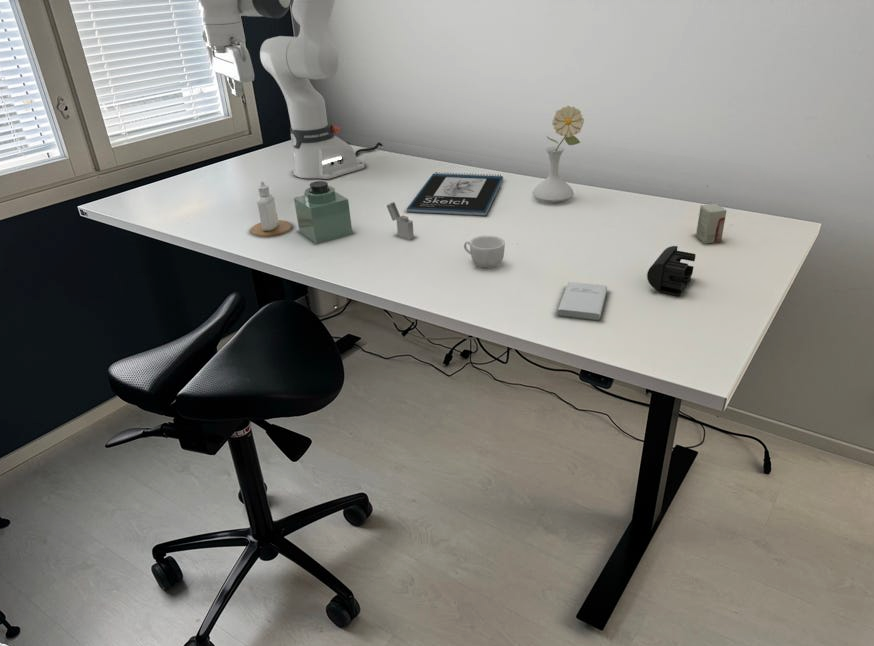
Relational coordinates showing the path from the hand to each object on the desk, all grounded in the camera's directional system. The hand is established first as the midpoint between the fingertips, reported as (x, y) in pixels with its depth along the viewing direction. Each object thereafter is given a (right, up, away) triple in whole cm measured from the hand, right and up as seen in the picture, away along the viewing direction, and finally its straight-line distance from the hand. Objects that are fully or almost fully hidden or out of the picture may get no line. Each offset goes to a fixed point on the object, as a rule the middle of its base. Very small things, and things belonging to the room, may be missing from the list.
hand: (237, 96), depth 170 cm
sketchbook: (+55, -20, +22) cm, 63 cm away
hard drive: (+81, -55, -34) cm, 104 cm away
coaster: (+7, -33, +4) cm, 34 cm away
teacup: (+61, -45, -17) cm, 78 cm away
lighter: (+41, -36, -1) cm, 55 cm away
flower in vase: (+82, -22, +17) cm, 87 cm away
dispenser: (+22, -34, +1) cm, 41 cm away
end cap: (+100, -51, -28) cm, 116 cm away
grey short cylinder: (+22, -25, -4) cm, 34 cm away
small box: (+115, -38, -9) cm, 122 cm away
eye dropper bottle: (+7, -33, +4) cm, 34 cm away
